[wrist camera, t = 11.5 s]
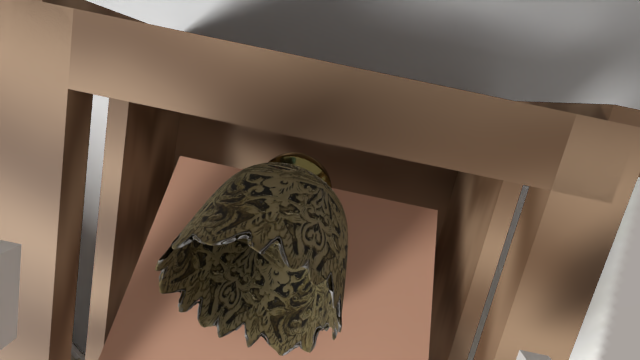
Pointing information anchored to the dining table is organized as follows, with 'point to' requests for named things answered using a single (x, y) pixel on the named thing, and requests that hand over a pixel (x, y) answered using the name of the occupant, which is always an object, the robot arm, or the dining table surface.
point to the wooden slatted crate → (307, 138)
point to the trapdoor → (359, 294)
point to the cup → (265, 255)
